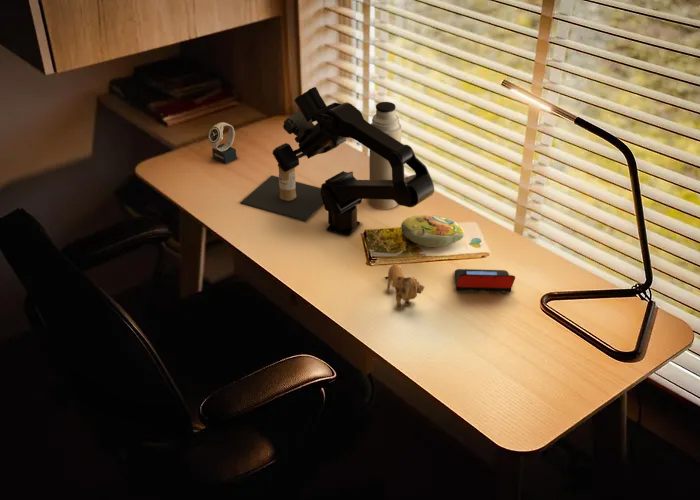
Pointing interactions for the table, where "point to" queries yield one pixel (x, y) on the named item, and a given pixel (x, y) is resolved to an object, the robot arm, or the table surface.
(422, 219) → the cell model
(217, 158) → the watch
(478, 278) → the handheld console
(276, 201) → the desk mat
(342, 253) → the table surface
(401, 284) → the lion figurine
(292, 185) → the sprinkles bottle
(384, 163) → the thermos bottle
